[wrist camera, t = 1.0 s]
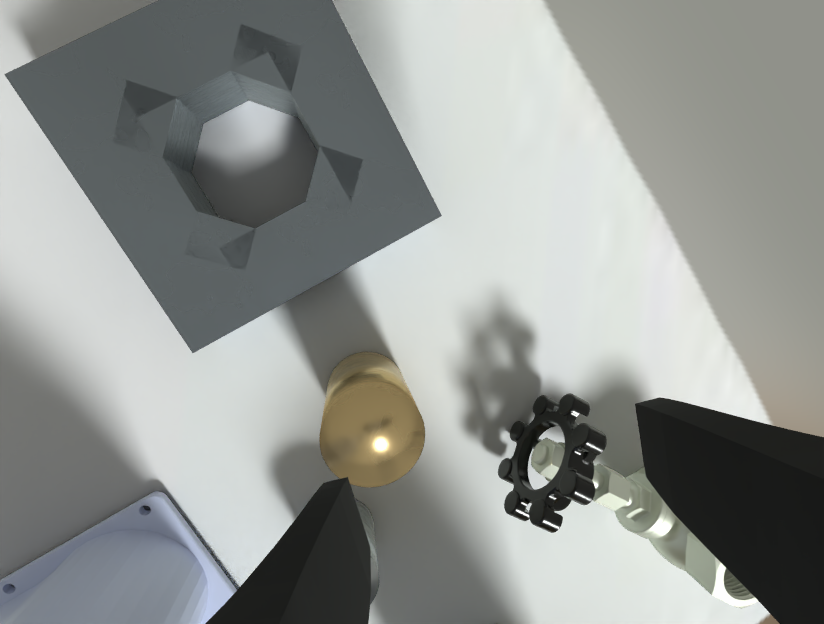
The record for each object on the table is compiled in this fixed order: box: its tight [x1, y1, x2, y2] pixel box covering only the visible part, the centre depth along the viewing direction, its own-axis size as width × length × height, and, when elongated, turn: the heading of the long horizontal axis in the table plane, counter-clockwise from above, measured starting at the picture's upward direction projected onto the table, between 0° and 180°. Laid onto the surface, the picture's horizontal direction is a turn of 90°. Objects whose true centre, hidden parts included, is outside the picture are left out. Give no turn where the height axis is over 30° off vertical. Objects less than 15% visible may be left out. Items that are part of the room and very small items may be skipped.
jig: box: [5, 0, 442, 353], centre depth 18 cm, size 12×12×3 cm
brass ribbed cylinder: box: [320, 352, 425, 487], centre depth 19 cm, size 4×4×6 cm
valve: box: [498, 394, 758, 609], centre depth 21 cm, size 7×7×12 cm
